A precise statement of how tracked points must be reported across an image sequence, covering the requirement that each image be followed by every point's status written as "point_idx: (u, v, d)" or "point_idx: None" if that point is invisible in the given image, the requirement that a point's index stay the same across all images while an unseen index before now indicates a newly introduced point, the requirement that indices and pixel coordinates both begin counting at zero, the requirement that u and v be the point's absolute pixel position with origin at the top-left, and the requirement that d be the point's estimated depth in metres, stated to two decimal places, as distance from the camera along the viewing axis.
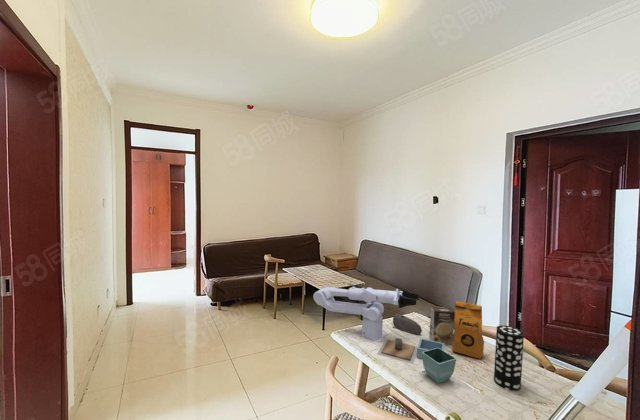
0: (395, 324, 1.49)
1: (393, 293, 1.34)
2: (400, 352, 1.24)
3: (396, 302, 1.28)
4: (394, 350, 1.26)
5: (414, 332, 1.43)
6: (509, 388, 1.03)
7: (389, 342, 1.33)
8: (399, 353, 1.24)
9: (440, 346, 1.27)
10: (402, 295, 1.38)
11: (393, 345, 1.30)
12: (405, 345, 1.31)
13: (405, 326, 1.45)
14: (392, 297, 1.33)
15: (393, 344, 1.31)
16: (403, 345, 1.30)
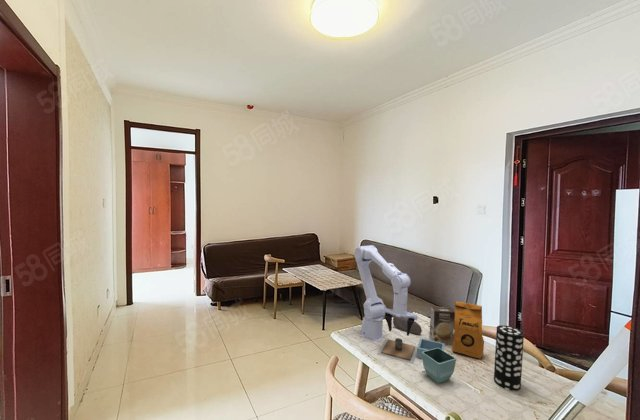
0: (395, 324, 1.49)
1: (395, 310, 1.25)
2: (400, 352, 1.24)
3: None
4: (394, 350, 1.26)
5: (414, 332, 1.43)
6: (509, 388, 1.03)
7: (389, 342, 1.33)
8: (399, 353, 1.24)
9: (440, 346, 1.27)
10: (409, 318, 1.25)
11: (393, 345, 1.30)
12: (405, 345, 1.31)
13: (405, 326, 1.45)
14: (393, 308, 1.27)
15: (393, 344, 1.31)
16: (403, 345, 1.30)
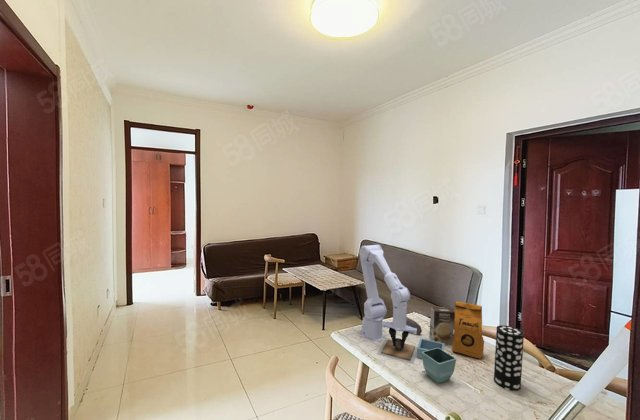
0: None
1: (394, 324, 1.26)
2: (400, 352, 1.24)
3: None
4: (394, 350, 1.26)
5: None
6: (509, 388, 1.03)
7: (389, 342, 1.33)
8: (399, 353, 1.24)
9: (440, 346, 1.27)
10: None
11: None
12: (405, 345, 1.31)
13: None
14: (392, 322, 1.27)
15: None
16: None
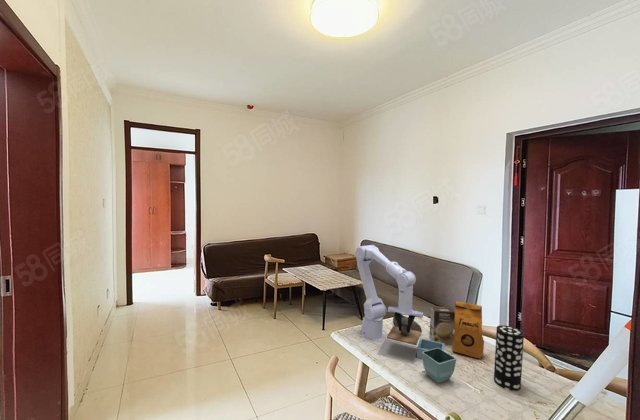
0: (395, 324, 1.49)
1: (400, 308, 1.25)
2: (406, 337, 1.23)
3: None
4: (400, 335, 1.25)
5: None
6: (509, 388, 1.03)
7: (395, 328, 1.32)
8: (405, 338, 1.23)
9: (440, 346, 1.27)
10: None
11: (399, 331, 1.29)
12: (411, 331, 1.29)
13: None
14: (398, 306, 1.27)
15: None
16: None
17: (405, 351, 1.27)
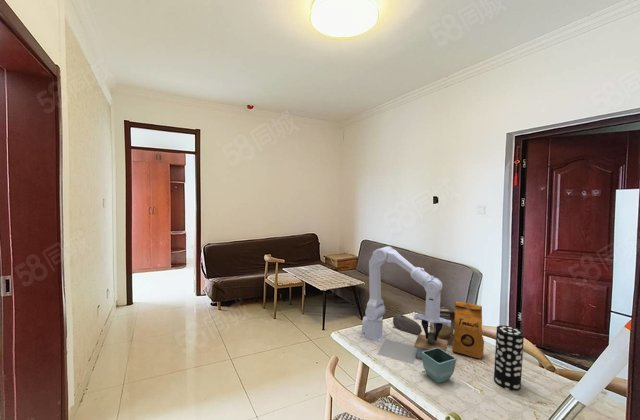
0: (395, 324, 1.49)
1: (427, 316, 1.22)
2: (433, 347, 1.21)
3: (414, 317, 1.27)
4: (427, 344, 1.23)
5: (414, 332, 1.43)
6: (509, 388, 1.03)
7: (420, 336, 1.29)
8: (433, 347, 1.20)
9: None
10: None
11: (425, 339, 1.27)
12: (437, 339, 1.27)
13: (405, 326, 1.45)
14: (425, 314, 1.24)
15: (425, 338, 1.28)
16: None
17: (405, 351, 1.27)
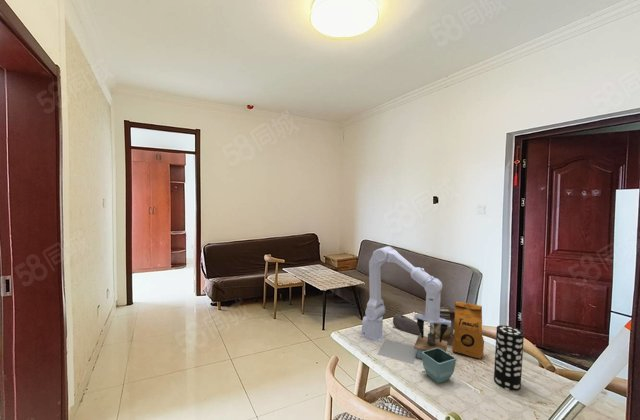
0: (395, 324, 1.49)
1: (427, 316, 1.22)
2: (433, 348, 1.21)
3: (414, 317, 1.27)
4: (427, 345, 1.23)
5: (414, 332, 1.43)
6: (509, 388, 1.03)
7: (420, 337, 1.29)
8: (433, 348, 1.20)
9: None
10: None
11: (425, 340, 1.27)
12: (437, 340, 1.27)
13: (405, 326, 1.45)
14: (425, 314, 1.24)
15: (425, 339, 1.28)
16: (435, 340, 1.27)
17: (405, 351, 1.27)
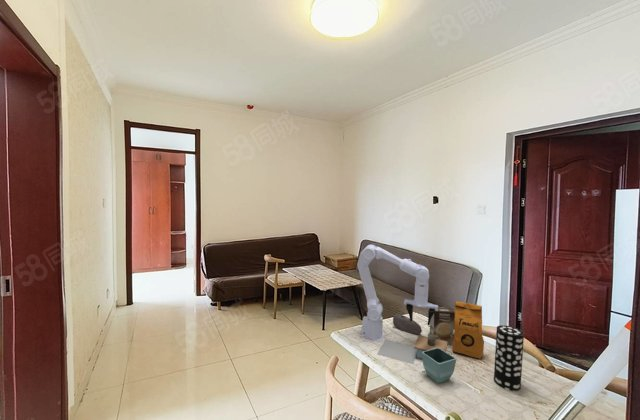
0: (395, 324, 1.49)
1: (416, 301, 1.32)
2: (433, 348, 1.21)
3: (404, 302, 1.36)
4: (427, 345, 1.23)
5: (414, 332, 1.43)
6: (509, 388, 1.03)
7: (420, 337, 1.29)
8: (433, 348, 1.20)
9: None
10: (429, 308, 1.31)
11: (425, 340, 1.27)
12: (437, 340, 1.27)
13: (405, 326, 1.45)
14: (414, 299, 1.34)
15: (425, 339, 1.28)
16: (435, 340, 1.27)
17: (405, 351, 1.27)
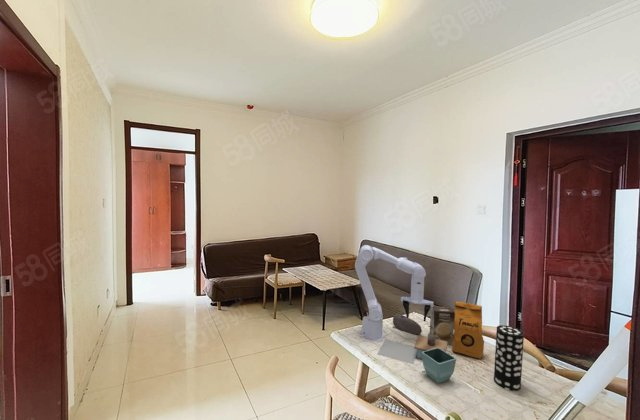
0: (395, 324, 1.49)
1: (412, 298, 1.35)
2: (433, 348, 1.21)
3: None
4: (427, 345, 1.23)
5: (414, 332, 1.43)
6: (509, 388, 1.03)
7: (420, 337, 1.29)
8: (433, 348, 1.20)
9: None
10: None
11: (425, 340, 1.27)
12: (437, 340, 1.27)
13: (405, 326, 1.45)
14: None
15: (425, 339, 1.28)
16: (435, 340, 1.27)
17: (405, 351, 1.27)
